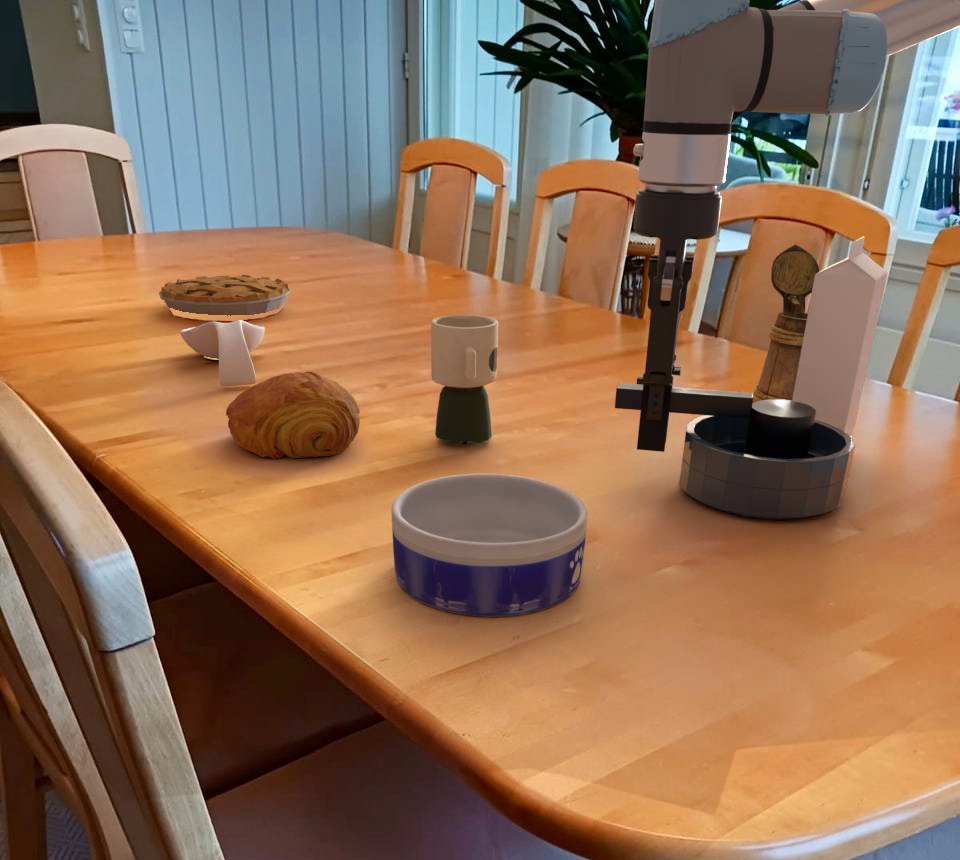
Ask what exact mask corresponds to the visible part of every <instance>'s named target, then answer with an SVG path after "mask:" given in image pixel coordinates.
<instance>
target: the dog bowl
mask: <svg viewBox="0 0 960 860" xmlns="http://www.w3.org/2000/svg"><path fill="white" fill-rule="evenodd" d="M391 525H392V526H391V531H392V533H391V534H392V550H393V562H394V564H393V565H394V575H395V579H396V582H397V584H398V586H399V587H400V589H402V590H403V591H404V592H405V593H406V594H407V595H408V596H410V597H411V598H413V599H414V600H415V601H418V602H420V603H421V604H424V605H427V606H429V607H431V608H434V609H438V610H440V611H444V612H449V613H452V614H453V613H454V614H458V615H466V616H474V617H489V618H492V617H493V618H494V617H512V616H520V615H526V614H530V613H531V614H532V613H536V612H539V611H543V610H546V609H549V608H552V607H554V606H557V605H558V604H560V603H563V602H564V601H565V600H567V599H569V598H570V597H571V596H572V595H574V593H575V592H576V590H577V589H578V588H579V586H580V582H581V576H582V569H583V564H584V563H583V561H584V554H585V547H586V538H587V527H588V526H587V525H588V509H587V507H586V505H585V504H584V502H583V500H581V499H580V498H579V497H577V496H576V495H575V494H574V493H573V492H571V491H570V490H567V489H565V488H563V487H561V486H558V485H556V484H554V483H550V482H548V481H544V480H540V479H537V478H533V477H526V476H522V475H515V474H514V475H513V474H506V473H505V474H503V473H465V474H464V473H463V474H455V475H446V476H442V477H436V478H432V479H428V480H425V481H422V482H419V483H417V484H416V483H415V484H414V485H413V486H410V487H408V488H406V489H404V490H403V491H402V492H401V493H399V494H398V495H397V496H396V497H395V498H394V500H393V502H392V504H391Z"/></svg>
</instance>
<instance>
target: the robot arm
mask: <svg viewBox="0 0 960 860" xmlns="http://www.w3.org/2000/svg"><path fill="white" fill-rule="evenodd" d="M651 21H652V22H651V28H650V29H651V30H650V36H649V40H648V42H647V49H648V57H647V58H648V59H647V72H646V84H645V85H646V86H645V99H644V100H645V102H644V112H643V113H644V114H643V125H642V136H641V139H642V142H643V143H636V144H635V145H634V147H633V151H632V154H633V156H635V157H642V159H641V160H640V161H639V164H638V165H639V167H638V176H637V177H638V178H637V179H638V181H640V183H642V184H644V188H639V190H638V192H636V193H635V204H634V205H635V206H634V215H633V231H634V232H635V234H637V235H638V236H641V237H645V238H656V239H659V247H658V254H651V255H650V258H649V261H648V268H647V269H648V270H647V278H648V280H649V286H648V293H647V295H648V296H647V308H648V309H649V311H650V313H649V314H650V315H649V324H648V325H649V326H648V337H647V347H646V357H645V367H644V373H643V374H642V377H641V376H638V377H636V384H638V385H643V393H642V403H641V410H640V414H639V422H638V423H639V424H638V433H637V435H638V436H637V444H636V450H638V451H649V452H660V453H664V452H665V449H666V444H667V438H668V437H667V436H668V428H669V419H670V412H669V408H670V399H671V391H672V387H674V386H673V385H674V376H681V369H682V367H681V366H675V365H674V364H675V362H676V361H677V355H676V350H677V349H676V347H677V341H678V332H679V323H680V316H681V312H683V311H684V310H685V309H686V305H687V304H686V303H687V298H688V297H687V296H688V290H689V282H690V281H691V279H692V276H693V269H694V261H695V256H687V245H688V240H696V241H698V240H708V239H711V238H713V237H715V236H716V235H717V234H718V230H719V224H720V223H719V222H720V215H721V208H722V201H723V196H722V195H721V192H720V191H717V188H718V187H719V186H721V185H723V184H724V183H725V182H726V176H727V175H726V174H727V166H728V158H729V150H730V144H731V143H730V142H731V136H732V134H731V131H732V120H733V115H734V112H739V113H752V112H753V113H770V114H771V113H772V114H773V113H774V114H796V115H797V114H799V115H800V114H802V115H805V114H806V115H807V114H808V115H824V116H827V117H830V116H832V115H841V114H843V115H845V114H857V113H858V112H860V111H862V110H863V109H865V108H866V107H867V106H868V105H869V104H870V102H871V101H872V100H873V98H874V96H875V94H876V93H877V92H878V89H879V87H880V84H881V81H882V79H883V75H884V72H885V67H886V62H887V57H889V56H891V55H894V54H896V53H898V52H901V51H904V50H906V49H909V48H911V47H914V46H915V45H918V44H921V43H922V42H925V41H927V40H930V39H933V38H935V37H938V36H939V35H943V34H945V33H947V32H950V31H952V30H954V29H957V28H959V27H960V0H799V1H797V2H794V3H791V4H788V5H786V6H783V7H781V8H779V9H769V10H768V9H764V8H757V7H754V6H750V0H655V1H654V8H653V14H652V20H651Z"/></svg>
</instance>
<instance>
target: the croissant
mask: <svg viewBox="0 0 960 860" xmlns="http://www.w3.org/2000/svg"><path fill="white" fill-rule="evenodd" d="M359 414H360V408H359V405H358V403H357V401H356V399H355V397H354V396H353V395H352V394H351V393H350V392H349V391H348V390H347V389H346V388H345V387H343V386H342V385H340V384H339V383H338V382H337V381H335V380H332V379H331V378H328V377H325V376H323V375H321V374H319V373H316V372H315V371H305V372H300V371H299V372H289V373H283V374H282V373H281V374H279V375H276V376H273V377H270V378H268V379H265V380H264V381H261V382H259V383H256V384H253V385H252V386H250V387H248V388H247V389H245V390H243V392H241V393H239V394H238V395H237V396H236V397H235V398H234V400H233V401H231V402H230V403H229V404H228V406H227V408H226V410H225V416H227V419H228V420H227V421H228V422H227V427H228V429H229V434H230V435H231V437H232V439H233V441H234V442H235V443H236V444H237V445H238V446H239V447H241V448H242V449H243V450H245V451H248V452H252V453H253V454H255V455H258V456H259V457H262V458H265V457H269V458H271V459H272V460H273V459H274V460H275V459H280V458H282V457H283V456H284V455H285V456H286V457H288V458H290V459H307V458H319V457H331V456H332V457H333V456H337V455H340V454H342V453H343V452H344V451H346V450H347V449H348V448H349V447H350V444H351V443H352V442H353V441H354V440H355V438H356V436H357V435H358V434H359V429H360V421H361V417H360V416H359Z"/></svg>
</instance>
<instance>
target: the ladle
mask: <svg viewBox="0 0 960 860" xmlns="http://www.w3.org/2000/svg"><path fill="white" fill-rule="evenodd" d="M642 393H643V385H639V384H637V383H623V382H618V383H617V385H616V388H615V401H614V402H615V403H614V409H618V410H619V409H620V410H621V409H622V410H633V411H641V403H642ZM753 394H754V392H749V391H734V390H720V389H719V390H718V389H707V388H706V389H705V388H693V387H692V388H691V387H678V386H672V391H671V399H670V408H669V414H672V413H673V414H683V415H698V416H704V415H709V416H722V417H735V418H748V419H749V425H748V431H747V437H746V444H745V450H744V454H748V455H753V456H758V457H768V458H780V459H807V457H808V452H809V446H810V441H811V436H812V431H813V426H814V420H815V415H816V410H815V409H814V408H813V407H811V406H809V405H807V404H804V403H800V402H795V401H789V400H777V399H771V400H761V401H757V402H754V403H753Z"/></svg>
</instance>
